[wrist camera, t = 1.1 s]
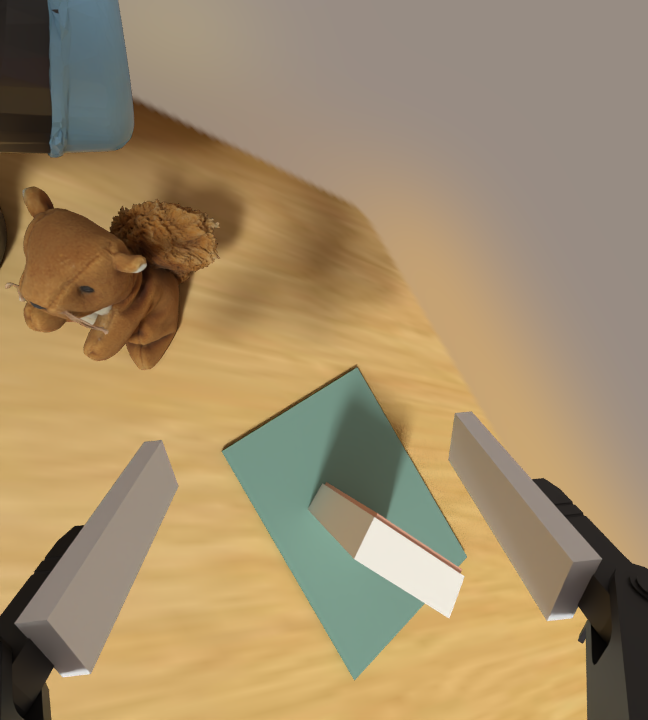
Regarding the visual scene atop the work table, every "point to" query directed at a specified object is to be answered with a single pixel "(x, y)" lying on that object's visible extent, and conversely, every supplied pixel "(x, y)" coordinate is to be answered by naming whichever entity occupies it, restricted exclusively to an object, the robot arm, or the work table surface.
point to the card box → (388, 549)
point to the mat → (356, 479)
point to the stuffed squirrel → (112, 273)
